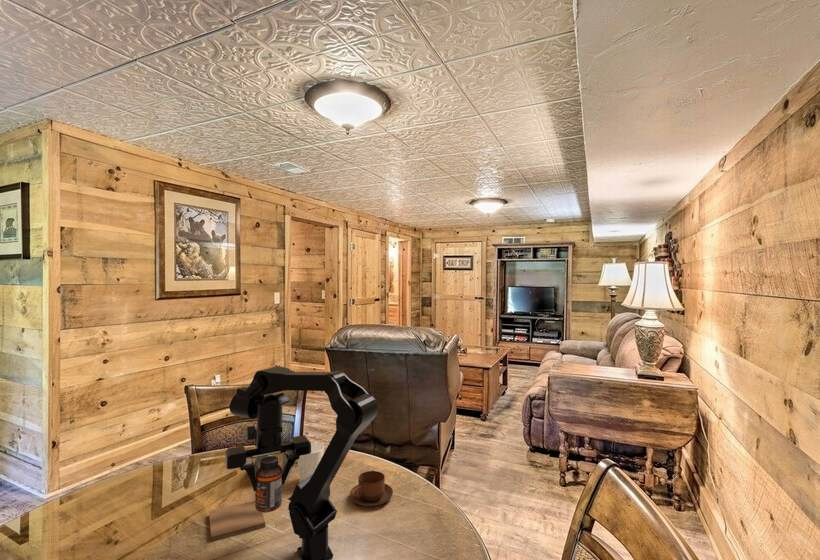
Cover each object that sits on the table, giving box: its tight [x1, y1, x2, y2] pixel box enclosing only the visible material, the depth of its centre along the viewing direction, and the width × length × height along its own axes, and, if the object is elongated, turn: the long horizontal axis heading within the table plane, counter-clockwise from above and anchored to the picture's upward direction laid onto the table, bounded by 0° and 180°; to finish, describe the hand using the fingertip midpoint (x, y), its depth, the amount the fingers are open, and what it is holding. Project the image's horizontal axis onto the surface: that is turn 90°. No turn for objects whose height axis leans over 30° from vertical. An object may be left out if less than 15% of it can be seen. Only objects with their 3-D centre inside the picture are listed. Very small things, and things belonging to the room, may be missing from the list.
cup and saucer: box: [349, 470, 394, 507], centre depth 113 cm, size 12×12×6 cm
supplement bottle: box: [254, 455, 283, 514], centre depth 96 cm, size 6×6×11 cm
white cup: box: [297, 442, 325, 484], centre depth 123 cm, size 8×8×10 cm
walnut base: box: [208, 500, 266, 542], centre depth 102 cm, size 12×12×1 cm
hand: (268, 487), depth 95 cm, fingers closed on supplement bottle, 6 cm apart
